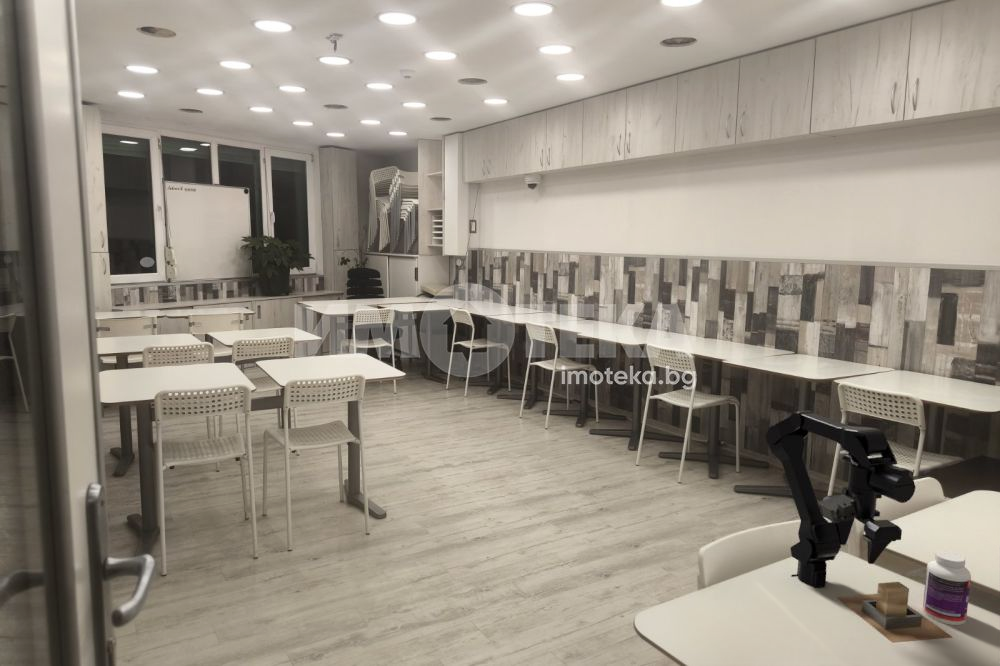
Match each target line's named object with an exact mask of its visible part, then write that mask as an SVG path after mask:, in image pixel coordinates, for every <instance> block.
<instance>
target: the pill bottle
mask: <svg viewBox="0 0 1000 666" xmlns="http://www.w3.org/2000/svg"><path fill="white" fill-rule="evenodd" d="M971 580H972V575H971V572H970V571H969V569H968V568H967V567H966V557H964V556H963V555H962V554H960V553H958V552H955V551H951V550H944V549H939V550H936V551H935V552H934V559H933V560H931V561H929V562H928V563H927V565H926V574H925V583H924V591H923V602H922V612H923V614H925V615H926V616H928V618H930V619H932V620H935V621H938V623H939V622H940V623H942V624H947V625H952V626H953V625H954V626H958V625H959V626H960V625H964V624H965V623H966V622H967V618H968V617H967V616H968V607H969V598H970V588H971Z"/></svg>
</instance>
